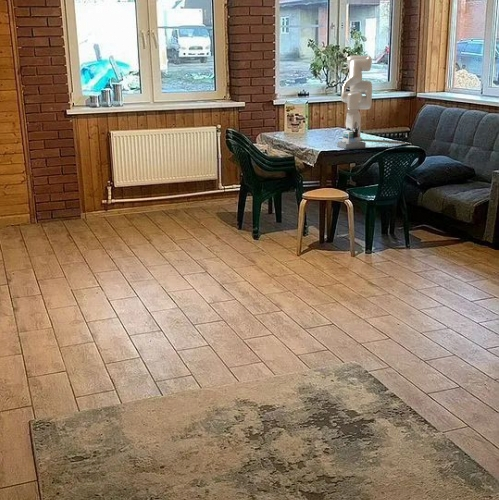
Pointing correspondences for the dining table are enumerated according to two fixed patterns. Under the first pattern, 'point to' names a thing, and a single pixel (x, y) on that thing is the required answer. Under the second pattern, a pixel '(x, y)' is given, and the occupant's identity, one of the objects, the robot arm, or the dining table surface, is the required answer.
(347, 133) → the light bulb box
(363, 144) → the sorting tray
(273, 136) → the dining table surface
